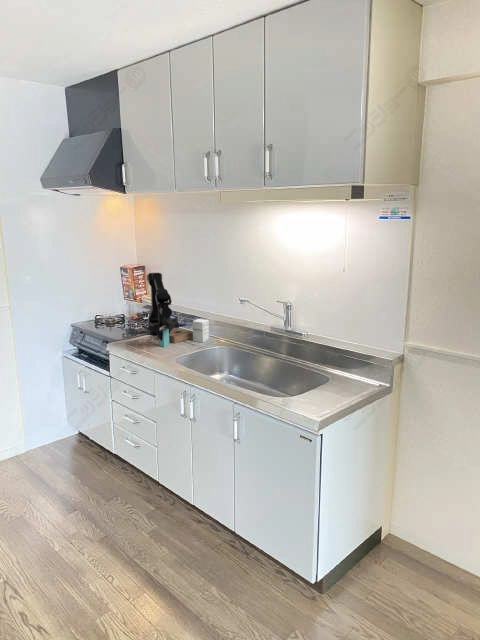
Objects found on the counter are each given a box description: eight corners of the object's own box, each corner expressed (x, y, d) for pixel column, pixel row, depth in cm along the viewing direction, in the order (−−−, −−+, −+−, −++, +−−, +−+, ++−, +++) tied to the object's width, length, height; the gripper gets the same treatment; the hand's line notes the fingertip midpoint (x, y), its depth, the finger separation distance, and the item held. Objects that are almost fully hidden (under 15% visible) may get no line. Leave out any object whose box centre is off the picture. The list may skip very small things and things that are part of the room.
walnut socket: (157, 338, 294) (157, 332, 294) (176, 333, 306) (176, 327, 305) (174, 343, 284) (174, 337, 283) (194, 338, 296) (194, 331, 295)
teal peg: (159, 345, 280) (158, 329, 277) (164, 344, 283) (164, 328, 280) (164, 347, 277) (163, 330, 275) (169, 345, 280) (168, 329, 278)
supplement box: (192, 341, 289) (192, 320, 286) (199, 338, 296) (198, 318, 293) (202, 342, 286) (202, 322, 283) (209, 339, 292) (209, 319, 289)
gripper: (159, 318, 263) (160, 345, 267) (184, 313, 277) (185, 339, 281) (146, 315, 270) (148, 342, 274) (172, 310, 284) (172, 335, 288)
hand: (164, 339), depth 279 cm, fingers closed on teal peg, 4 cm apart
